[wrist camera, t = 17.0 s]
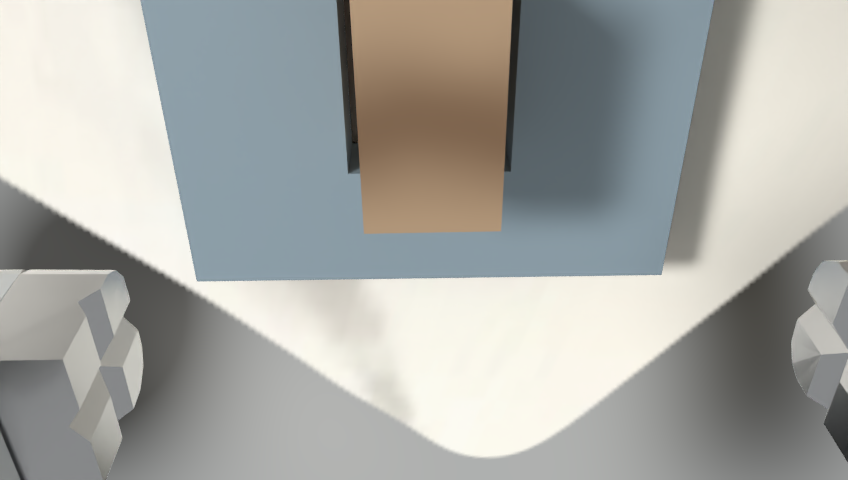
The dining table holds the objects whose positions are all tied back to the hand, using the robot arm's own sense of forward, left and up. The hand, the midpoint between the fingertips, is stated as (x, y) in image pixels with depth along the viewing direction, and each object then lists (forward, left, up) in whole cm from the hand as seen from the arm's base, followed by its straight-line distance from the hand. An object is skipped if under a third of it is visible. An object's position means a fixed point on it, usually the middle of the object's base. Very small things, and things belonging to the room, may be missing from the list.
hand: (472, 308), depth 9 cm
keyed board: (0, -3, -20) cm, 20 cm away
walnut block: (0, -3, -20) cm, 20 cm away
